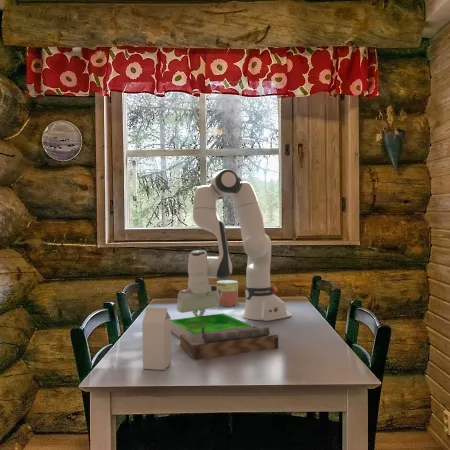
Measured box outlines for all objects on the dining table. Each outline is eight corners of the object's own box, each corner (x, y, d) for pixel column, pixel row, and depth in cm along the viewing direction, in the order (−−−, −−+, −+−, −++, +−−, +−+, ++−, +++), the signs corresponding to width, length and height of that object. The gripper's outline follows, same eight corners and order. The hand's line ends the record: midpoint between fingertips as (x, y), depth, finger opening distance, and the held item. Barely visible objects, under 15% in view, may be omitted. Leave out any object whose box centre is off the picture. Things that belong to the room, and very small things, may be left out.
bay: (256, 335, 183) (256, 309, 183) (279, 348, 166) (278, 319, 166) (180, 345, 171) (179, 317, 171) (195, 360, 154) (195, 329, 154)
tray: (193, 347, 170) (193, 334, 170) (170, 331, 192) (169, 319, 192) (252, 338, 181) (252, 325, 181) (223, 324, 204) (223, 313, 204)
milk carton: (164, 370, 144) (163, 310, 144) (142, 369, 146) (141, 309, 145) (171, 363, 151) (170, 305, 151) (150, 362, 153) (150, 305, 152)
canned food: (213, 303, 248) (213, 280, 248) (232, 301, 253) (232, 279, 253) (222, 307, 238) (222, 283, 238) (241, 305, 243) (241, 282, 242)
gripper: (181, 291, 190) (182, 325, 191) (221, 286, 203) (221, 317, 203) (173, 289, 195) (174, 322, 196) (212, 284, 208) (213, 315, 208)
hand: (198, 319), depth 199 cm, fingers closed
